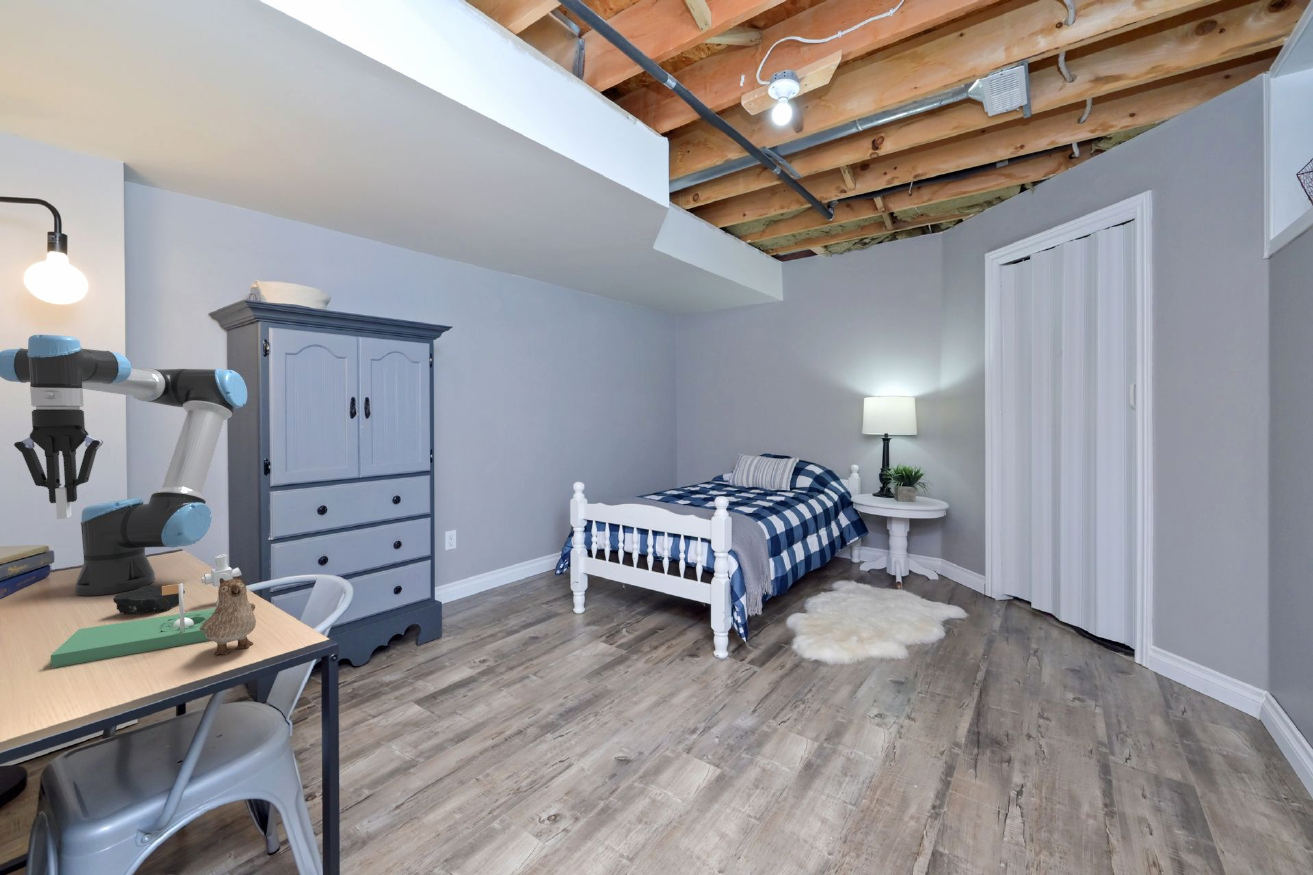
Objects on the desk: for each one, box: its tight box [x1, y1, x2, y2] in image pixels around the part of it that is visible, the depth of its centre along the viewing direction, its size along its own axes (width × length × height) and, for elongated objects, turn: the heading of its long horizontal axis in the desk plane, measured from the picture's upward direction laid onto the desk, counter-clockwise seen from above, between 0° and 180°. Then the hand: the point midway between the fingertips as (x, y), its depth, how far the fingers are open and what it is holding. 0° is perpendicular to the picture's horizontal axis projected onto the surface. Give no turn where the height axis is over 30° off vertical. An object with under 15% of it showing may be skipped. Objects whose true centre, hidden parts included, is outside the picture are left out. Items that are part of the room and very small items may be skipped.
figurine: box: [199, 575, 257, 656], centre depth 107 cm, size 9×10×15 cm
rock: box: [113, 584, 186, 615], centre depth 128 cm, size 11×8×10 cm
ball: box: [173, 617, 194, 627], centre depth 115 cm, size 4×4×4 cm
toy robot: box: [201, 553, 243, 607], centre depth 133 cm, size 4×8×12 cm, turn 138°
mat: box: [50, 583, 217, 669], centre depth 112 cm, size 14×24×12 cm, turn 122°
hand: (64, 517), depth 117 cm, fingers closed
